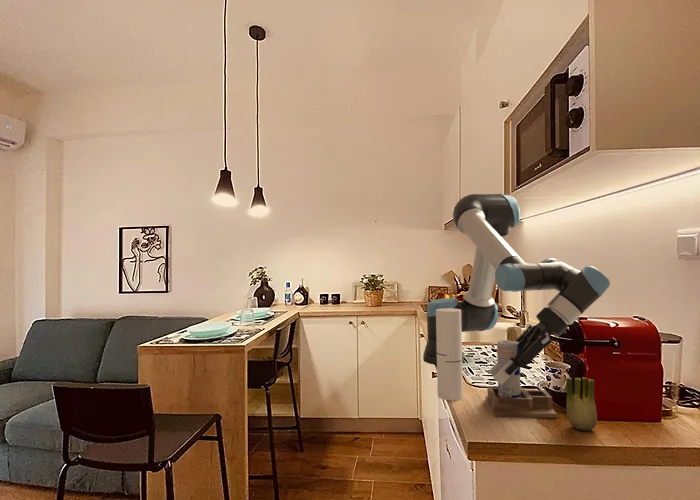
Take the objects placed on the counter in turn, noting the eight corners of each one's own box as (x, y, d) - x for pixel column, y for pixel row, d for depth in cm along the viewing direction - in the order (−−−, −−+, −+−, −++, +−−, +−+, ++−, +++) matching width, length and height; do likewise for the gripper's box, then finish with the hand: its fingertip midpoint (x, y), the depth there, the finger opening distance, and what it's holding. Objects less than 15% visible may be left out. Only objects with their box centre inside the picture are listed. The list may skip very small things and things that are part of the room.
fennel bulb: (564, 427, 107) (563, 376, 107) (575, 422, 110) (574, 373, 110) (589, 435, 102) (588, 382, 102) (600, 429, 105) (599, 378, 105)
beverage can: (522, 401, 117) (521, 343, 117) (500, 401, 118) (498, 343, 118) (518, 394, 123) (516, 339, 123) (496, 394, 124) (495, 339, 124)
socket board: (485, 399, 127) (485, 385, 127) (541, 400, 126) (540, 386, 126) (495, 416, 115) (494, 400, 115) (557, 417, 113) (556, 401, 113)
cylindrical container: (444, 391, 136) (443, 307, 136) (467, 395, 132) (465, 309, 132) (433, 397, 131) (431, 310, 131) (456, 402, 126) (454, 312, 126)
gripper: (582, 332, 110) (513, 399, 111) (556, 320, 128) (497, 378, 130) (558, 310, 110) (490, 377, 112) (536, 301, 128) (478, 359, 130)
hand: (494, 377), depth 121 cm, fingers closed on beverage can, 5 cm apart
